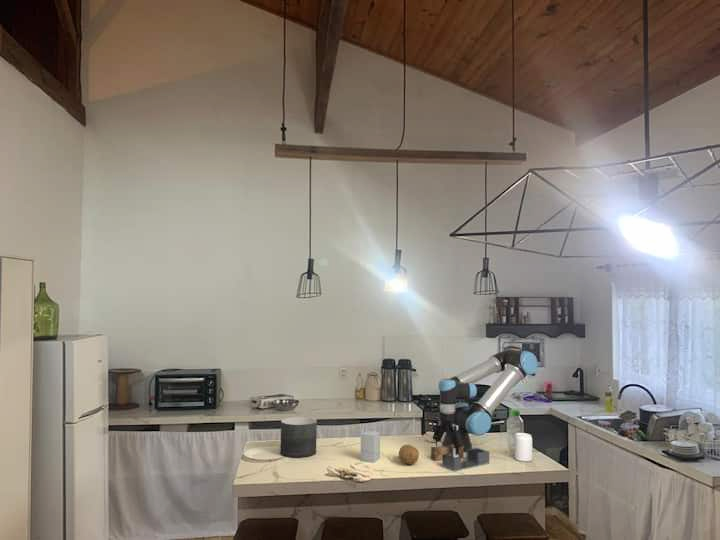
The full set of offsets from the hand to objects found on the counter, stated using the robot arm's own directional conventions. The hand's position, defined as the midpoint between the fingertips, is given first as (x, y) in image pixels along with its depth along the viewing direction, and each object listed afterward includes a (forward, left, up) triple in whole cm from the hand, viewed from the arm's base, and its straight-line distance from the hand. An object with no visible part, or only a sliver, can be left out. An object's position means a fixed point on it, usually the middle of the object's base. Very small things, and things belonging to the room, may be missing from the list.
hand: (447, 458), depth 257 cm
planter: (-46, -57, 0) cm, 73 cm away
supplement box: (-18, -33, 0) cm, 38 cm away
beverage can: (+21, +30, 0) cm, 37 cm away
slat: (0, 0, 0) cm, 0 cm away
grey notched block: (+13, 0, 0) cm, 13 cm away
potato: (-4, -21, 0) cm, 21 cm away
